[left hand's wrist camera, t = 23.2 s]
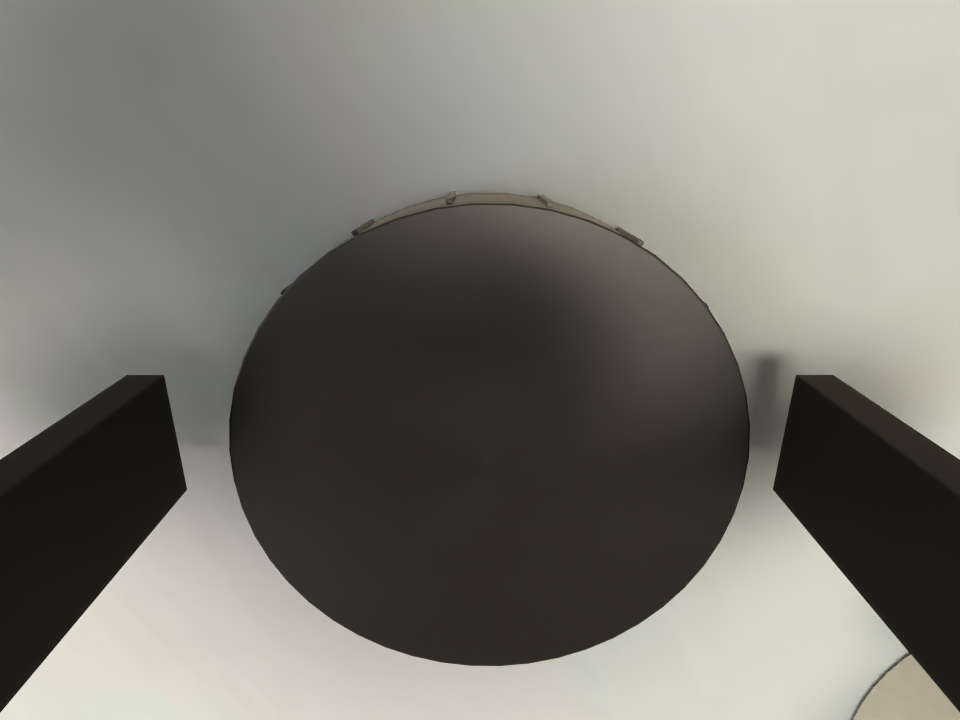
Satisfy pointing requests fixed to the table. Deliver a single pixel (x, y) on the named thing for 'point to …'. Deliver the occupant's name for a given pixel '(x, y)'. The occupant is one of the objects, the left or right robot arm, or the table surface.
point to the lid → (489, 431)
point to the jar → (907, 696)
